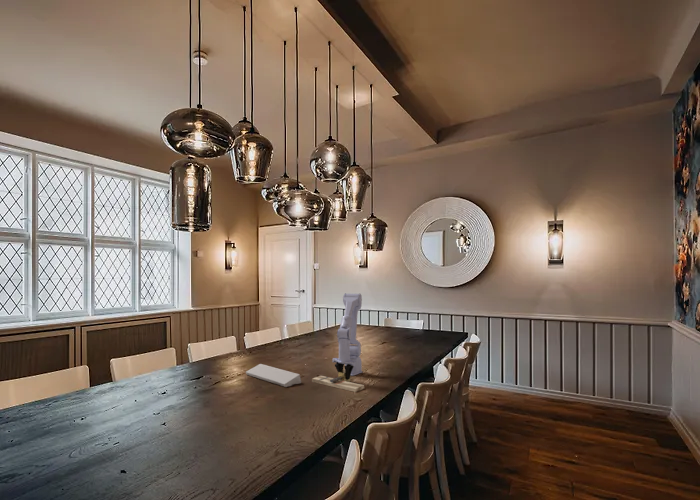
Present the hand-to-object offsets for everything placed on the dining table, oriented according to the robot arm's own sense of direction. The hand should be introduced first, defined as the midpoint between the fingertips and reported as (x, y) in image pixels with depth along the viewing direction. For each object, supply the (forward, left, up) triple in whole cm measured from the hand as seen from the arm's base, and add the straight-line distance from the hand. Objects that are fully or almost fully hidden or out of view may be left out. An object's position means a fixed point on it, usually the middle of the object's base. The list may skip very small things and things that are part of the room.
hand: (344, 378), depth 192 cm
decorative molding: (+18, -34, -2) cm, 39 cm away
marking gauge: (+4, 0, -2) cm, 4 cm away
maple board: (+6, 0, -2) cm, 7 cm away
